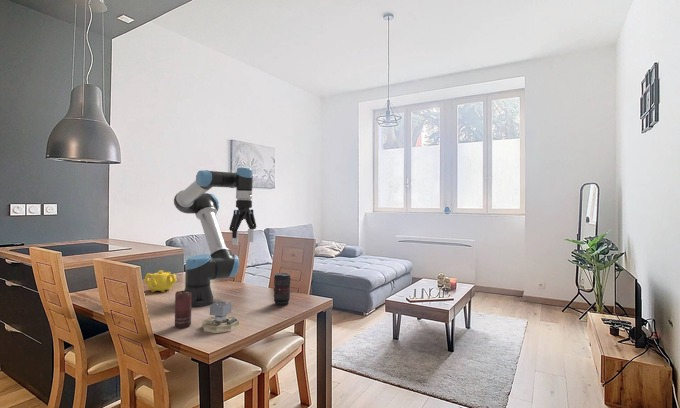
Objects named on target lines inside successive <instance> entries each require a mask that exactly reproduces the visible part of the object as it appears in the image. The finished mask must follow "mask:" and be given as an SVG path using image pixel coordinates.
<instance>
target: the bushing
mask: <svg viewBox="0 0 680 408" xmlns="http://www.w3.org/2000/svg"><path fill="white" fill-rule="evenodd" d="M231 313H232V302H231V301H220V300H218V301H216V302H213V303H211V304H209V315H210V316H213V317H214V316H215V323H217V324H221V323H226V315H229V314H231Z"/></svg>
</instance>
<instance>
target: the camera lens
mask: <svg viewBox="0 0 680 408" xmlns="http://www.w3.org/2000/svg"><path fill="white" fill-rule="evenodd" d="M291 279H292V278H291V274H290V273H287V272H278V273H275V274H274V276H273V285H274V286H273V301H274V305H275V306H278V307H280V306H281V307H284V306H288V305H289V301H290V299H291V298H290V297H291V295H290V294H291Z"/></svg>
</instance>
